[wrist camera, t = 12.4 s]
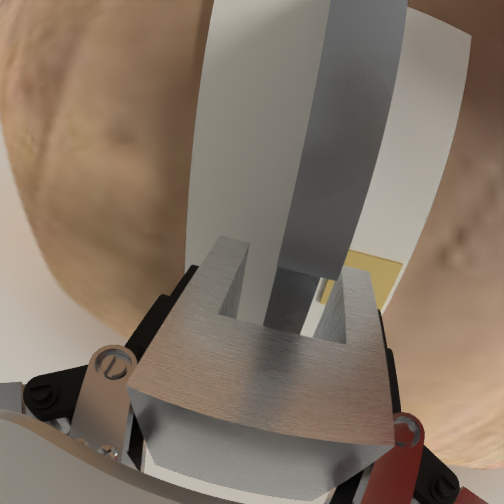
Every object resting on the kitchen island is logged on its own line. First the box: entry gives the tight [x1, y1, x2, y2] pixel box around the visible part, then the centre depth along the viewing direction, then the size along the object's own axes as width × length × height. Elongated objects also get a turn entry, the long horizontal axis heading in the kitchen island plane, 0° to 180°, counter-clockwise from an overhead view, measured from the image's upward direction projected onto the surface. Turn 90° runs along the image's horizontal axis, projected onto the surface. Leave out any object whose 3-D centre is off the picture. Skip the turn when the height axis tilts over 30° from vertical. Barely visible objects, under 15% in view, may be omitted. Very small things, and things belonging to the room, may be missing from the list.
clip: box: [125, 236, 395, 501], centre depth 8 cm, size 5×5×6 cm
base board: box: [185, 0, 472, 337], centre depth 12 cm, size 18×10×1 cm, turn 171°
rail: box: [263, 0, 408, 335], centre depth 9 cm, size 18×1×6 cm, turn 171°
